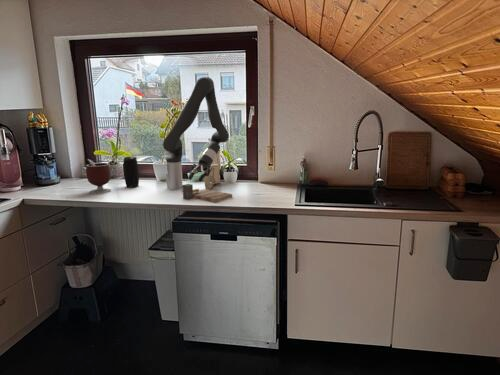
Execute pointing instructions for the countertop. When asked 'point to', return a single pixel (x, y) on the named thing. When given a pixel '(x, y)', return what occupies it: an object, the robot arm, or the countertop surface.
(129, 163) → the portable speaker
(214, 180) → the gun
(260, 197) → the countertop surface
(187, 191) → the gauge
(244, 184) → the countertop surface
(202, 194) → the brown flat slatted board
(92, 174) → the mate gourd
